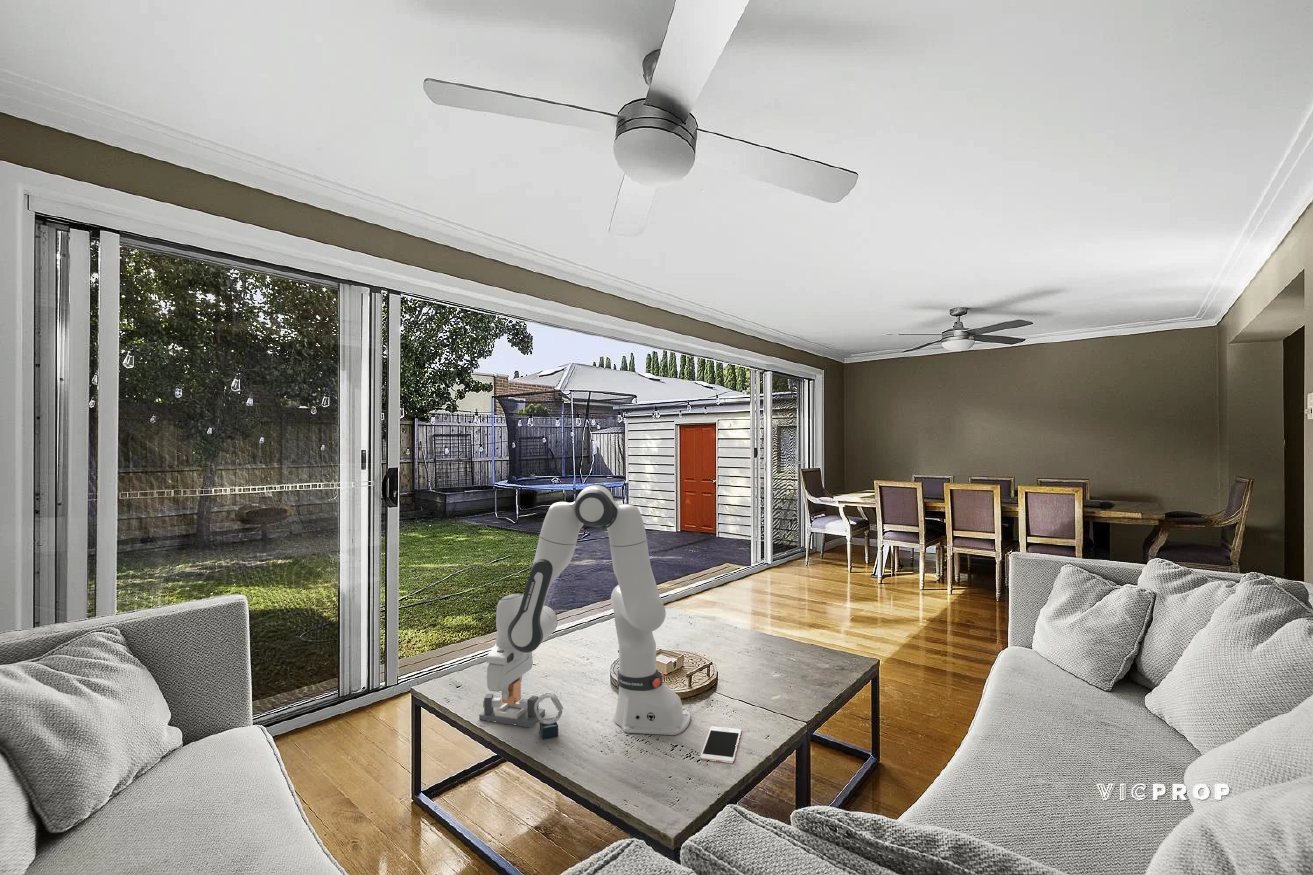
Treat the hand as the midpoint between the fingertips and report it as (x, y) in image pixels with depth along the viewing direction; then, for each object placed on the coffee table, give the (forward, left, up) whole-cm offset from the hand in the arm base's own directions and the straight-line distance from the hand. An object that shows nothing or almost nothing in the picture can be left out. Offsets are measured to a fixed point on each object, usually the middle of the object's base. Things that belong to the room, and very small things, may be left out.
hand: (511, 694), depth 183 cm
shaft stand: (0, 0, -7) cm, 7 cm away
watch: (-16, +6, -7) cm, 18 cm away
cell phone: (-64, -3, -7) cm, 64 cm away
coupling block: (0, 0, -2) cm, 2 cm away
